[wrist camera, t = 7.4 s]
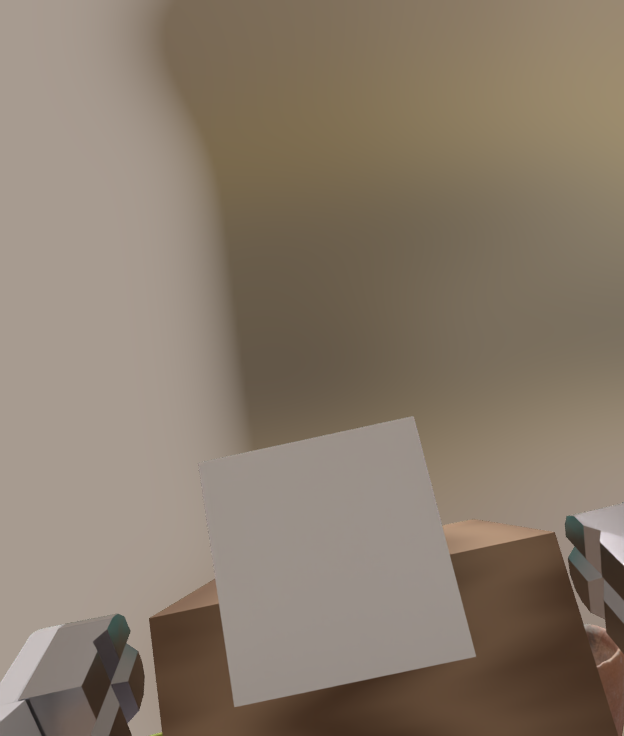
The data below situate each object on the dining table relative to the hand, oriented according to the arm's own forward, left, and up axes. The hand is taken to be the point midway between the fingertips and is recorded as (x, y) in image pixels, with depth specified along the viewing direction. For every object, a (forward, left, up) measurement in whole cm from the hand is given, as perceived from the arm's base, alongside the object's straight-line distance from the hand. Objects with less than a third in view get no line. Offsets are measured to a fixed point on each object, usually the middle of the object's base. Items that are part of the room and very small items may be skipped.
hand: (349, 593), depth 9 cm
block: (0, -8, 0) cm, 8 cm away
